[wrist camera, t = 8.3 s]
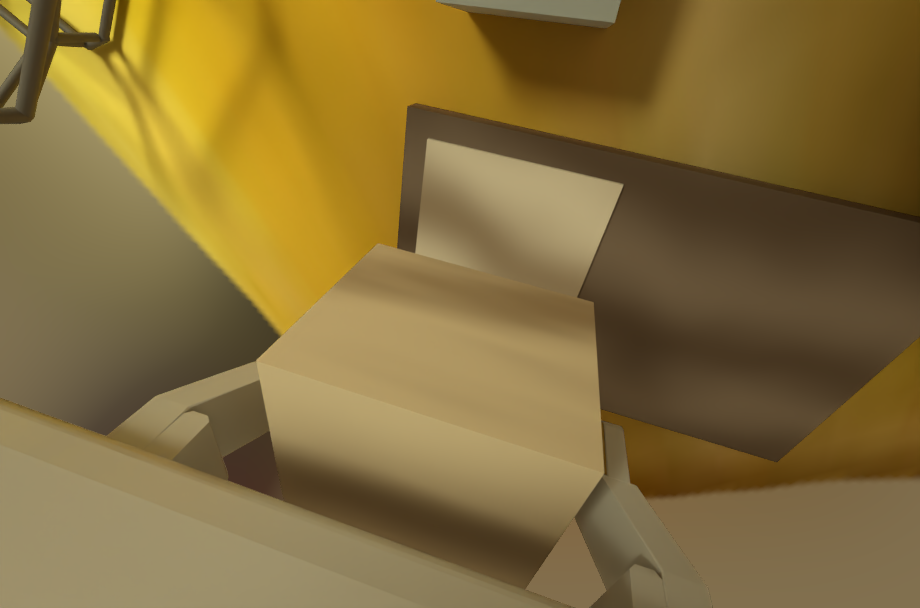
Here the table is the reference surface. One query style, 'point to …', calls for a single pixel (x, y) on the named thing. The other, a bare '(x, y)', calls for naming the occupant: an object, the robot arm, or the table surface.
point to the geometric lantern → (43, 53)
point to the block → (440, 410)
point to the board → (675, 272)
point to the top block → (546, 10)
